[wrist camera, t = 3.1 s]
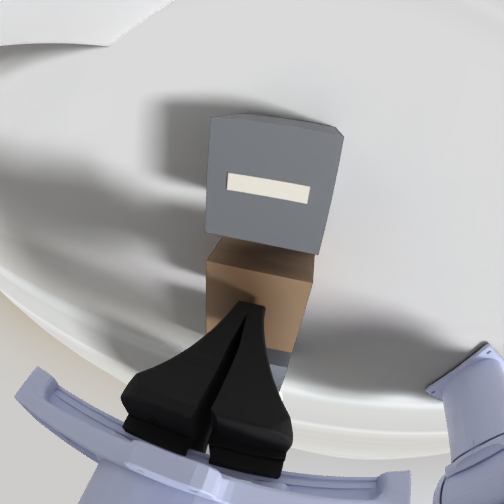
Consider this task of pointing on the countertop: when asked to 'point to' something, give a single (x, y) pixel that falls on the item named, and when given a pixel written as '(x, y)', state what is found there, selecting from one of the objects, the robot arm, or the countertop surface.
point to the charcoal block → (271, 179)
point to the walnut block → (260, 286)
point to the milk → (72, 20)
